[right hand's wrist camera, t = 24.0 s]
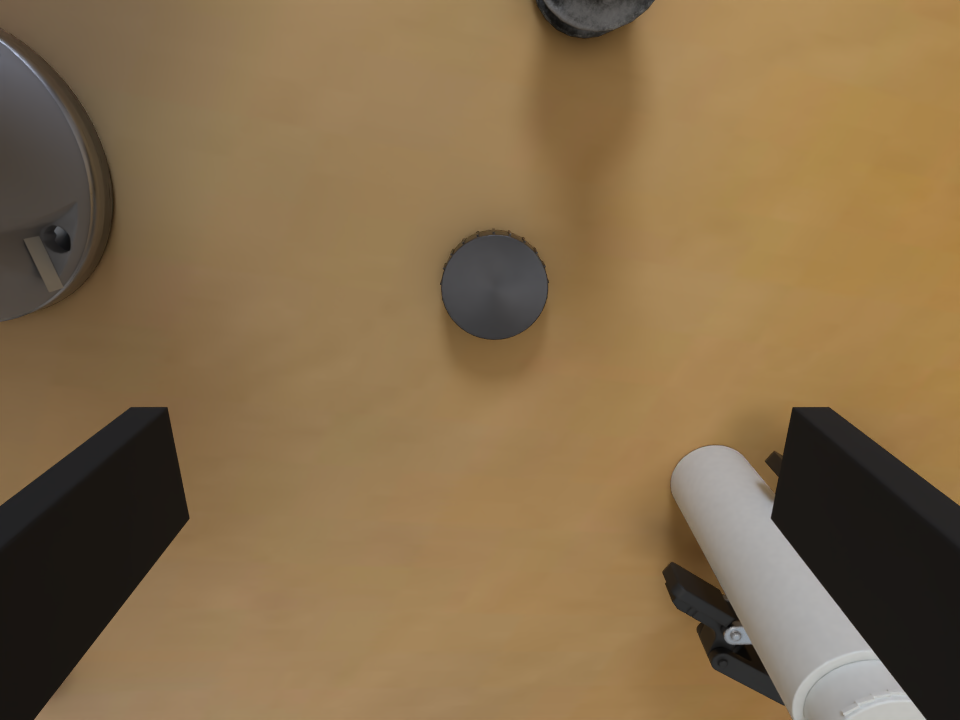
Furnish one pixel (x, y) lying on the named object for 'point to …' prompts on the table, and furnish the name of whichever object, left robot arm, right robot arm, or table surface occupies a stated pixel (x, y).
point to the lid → (494, 284)
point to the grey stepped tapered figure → (591, 15)
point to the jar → (781, 596)
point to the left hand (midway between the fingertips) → (721, 522)
